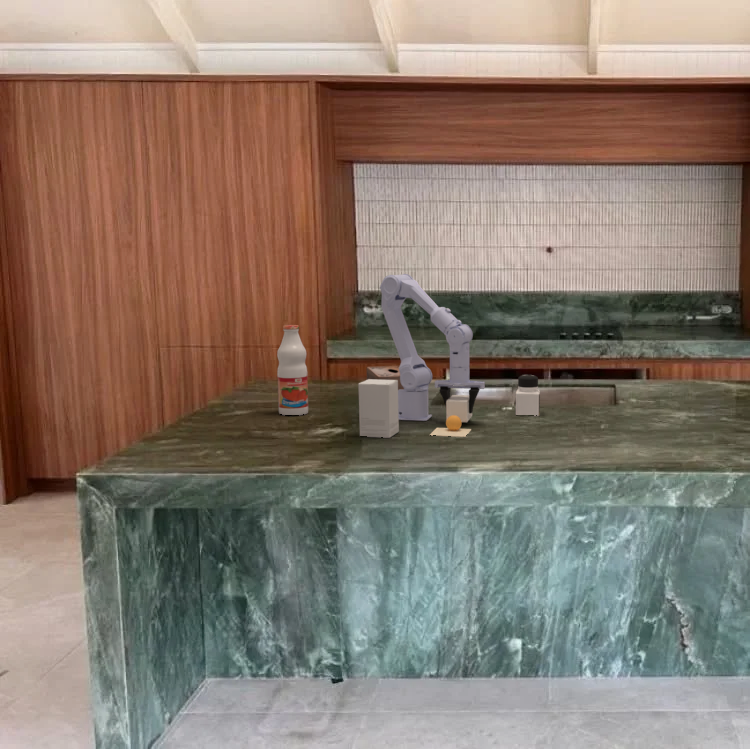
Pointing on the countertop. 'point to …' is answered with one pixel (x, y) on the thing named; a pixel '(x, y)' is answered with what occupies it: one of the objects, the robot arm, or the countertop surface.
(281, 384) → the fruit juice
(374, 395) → the supplement box
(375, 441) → the countertop surface
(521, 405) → the medicine bottle
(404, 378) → the robot arm
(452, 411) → the white rectangular prism
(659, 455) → the countertop surface
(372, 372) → the tissue box cover
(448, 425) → the ball
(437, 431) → the mark
